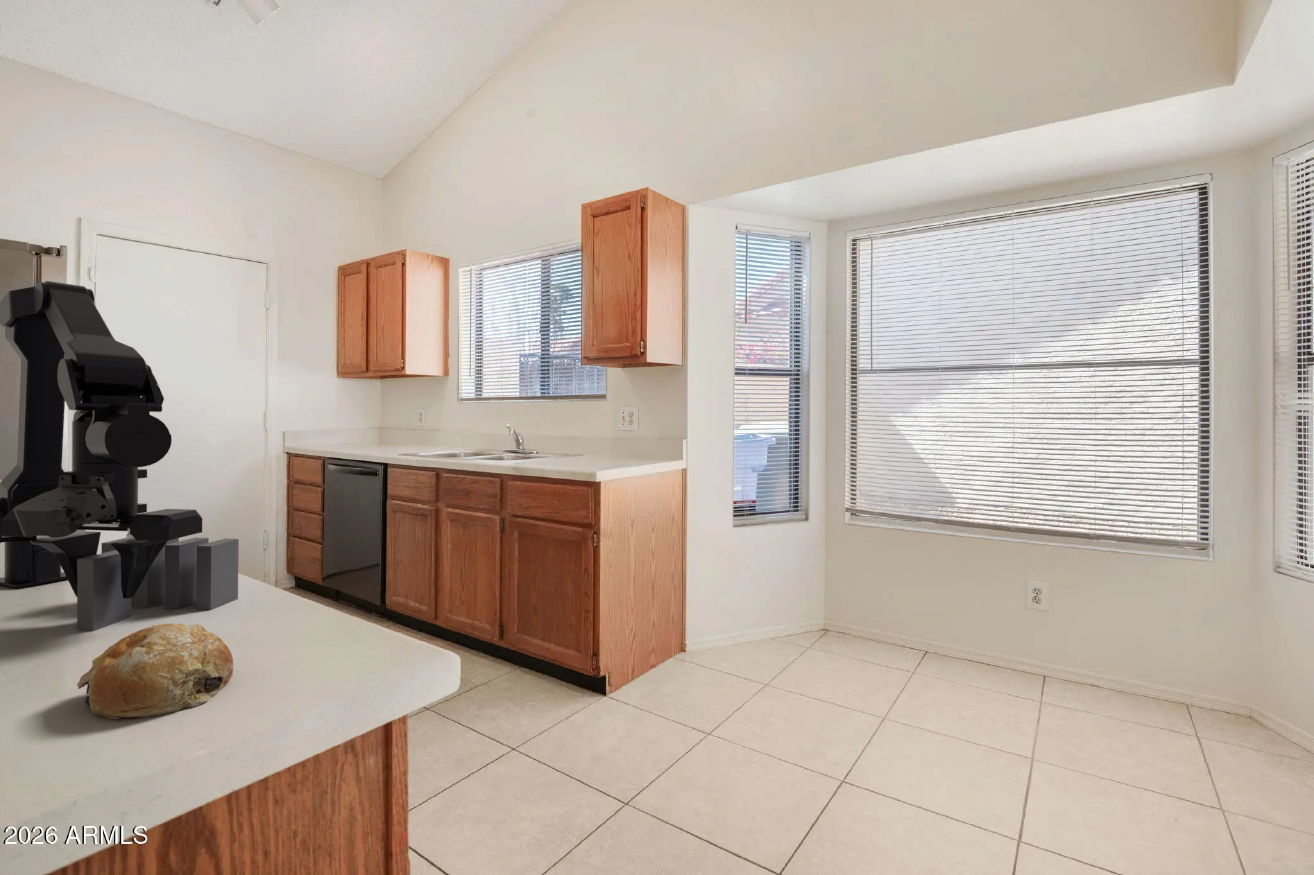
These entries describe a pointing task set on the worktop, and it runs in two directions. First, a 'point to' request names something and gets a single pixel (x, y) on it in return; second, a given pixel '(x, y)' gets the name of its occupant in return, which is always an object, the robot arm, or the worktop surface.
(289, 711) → the worktop surface
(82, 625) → the tile
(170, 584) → the tile
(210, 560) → the tile
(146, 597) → the tile
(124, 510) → the robot arm
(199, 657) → the bread roll
